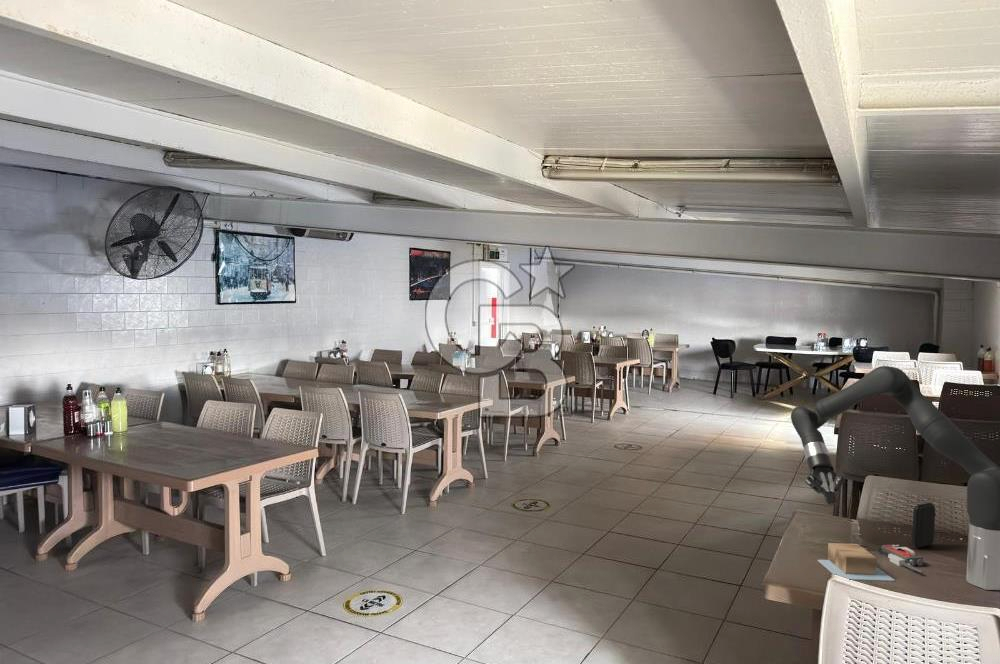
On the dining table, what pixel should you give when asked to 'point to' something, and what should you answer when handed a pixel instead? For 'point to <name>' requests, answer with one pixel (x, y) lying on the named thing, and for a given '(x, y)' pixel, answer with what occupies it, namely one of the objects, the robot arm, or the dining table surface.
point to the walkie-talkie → (902, 556)
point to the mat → (872, 577)
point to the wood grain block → (852, 558)
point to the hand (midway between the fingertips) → (832, 504)
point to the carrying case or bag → (923, 525)
